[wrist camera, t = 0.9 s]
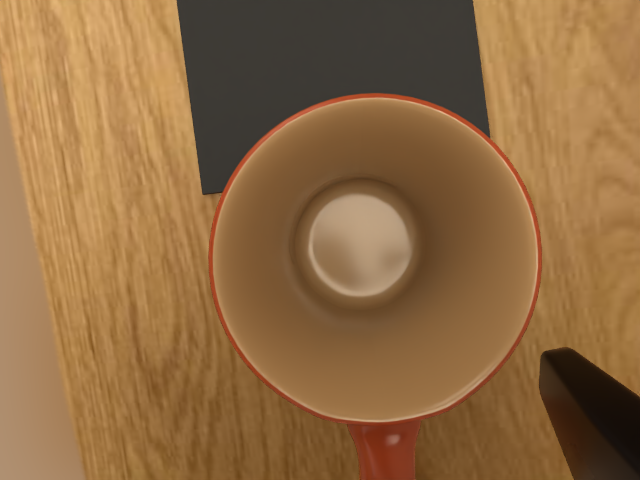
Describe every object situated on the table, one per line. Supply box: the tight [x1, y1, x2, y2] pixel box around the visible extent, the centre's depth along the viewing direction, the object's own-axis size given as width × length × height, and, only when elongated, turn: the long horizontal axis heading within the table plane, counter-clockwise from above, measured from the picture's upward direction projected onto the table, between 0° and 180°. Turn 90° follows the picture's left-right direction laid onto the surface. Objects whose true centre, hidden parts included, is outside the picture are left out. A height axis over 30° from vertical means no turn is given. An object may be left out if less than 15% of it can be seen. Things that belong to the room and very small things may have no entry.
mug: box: [208, 93, 542, 480], centre depth 20 cm, size 12×9×10 cm
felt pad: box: [177, 0, 490, 194], centre depth 25 cm, size 10×13×1 cm
